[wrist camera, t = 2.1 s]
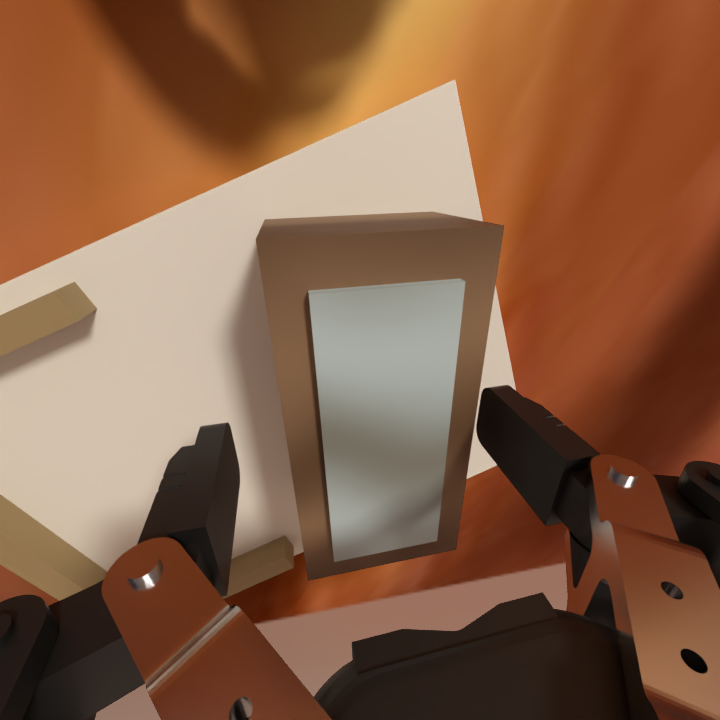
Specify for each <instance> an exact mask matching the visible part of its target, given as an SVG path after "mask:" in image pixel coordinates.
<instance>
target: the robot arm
mask: <svg viewBox="0 0 720 720" xmlns="http://www.w3.org/2000/svg"><path fill="white" fill-rule="evenodd" d="M476 432H477V437H478V440H479V442H480V444H481V445H482V446H483V448H484V449H485V450H486V451H487V453H488V454H489V455H490V457H491V458H492V459H493V460H494V462H495V463H496V464H497V465H498V467H499V468H500V469H501V470H502V472H503V473H504V474H505V475H506V477H507V478H508V479H509V480H510V482H511V483H512V484H513V485H514V487H515V488H516V489H517V490H518V492H519V493H520V494H521V496H522V497H523V498H524V499H525V501H526V502H527V503H528V504H529V506H530V507H531V508H532V509H533V511H534V512H535V513H536V514H537V516H538V517H539V518H540V519H541V521H542V522H543V523H544V524H545V526H549V525H553V524H558V523H562V522H563V523H564V524H565V526H566V527H567V530H566V533H565V555H566V574H567V592H568V600H567V609H566V611H563V610H558V609H553V607H552V606H551V604H550V603H549V601H548V600H547V598H546V597H545V595H544V594H543V593H539V594H535V595H531V596H527V597H524V598H520V599H516V600H512V601H509V602H504V603H501V604H498V605H497V606H495V607H494V608H492V609H491V610H490V611H488V612H487V613H485V614H484V615H482V616H481V617H479V618H478V619H476V620H475V621H473V622H472V623H471V624H469V625H468V626H466V627H465V628H463V629H461V630H458V631H436V630H413V629H412V630H411V629H401V630H397V631H393V632H390V633H386V634H382V635H378V636H374V637H370V638H367V639H362V640H359V641H355V642H352V656H353V660H352V661H351V662H349V663H348V664H346V665H345V666H343V667H342V668H341V669H339V670H338V671H337V672H336V673H335V674H334V675H332V676H331V677H330V678H329V679H328V681H327V682H326V683H325V684H324V685H323V686H322V687H321V688H320V690H319V691H318V692H317V693H316V695H315V696H314V697H313V696H312V695H311V694H310V692H309V691H308V690H307V689H306V687H305V686H304V685H303V684H302V683H301V681H300V680H299V679H298V678H297V676H296V675H295V674H294V673H293V672H292V670H291V669H290V668H289V667H288V665H287V664H286V663H285V662H284V661H283V659H282V658H281V657H280V656H279V654H278V653H277V652H276V651H275V650H274V648H273V647H272V646H271V645H270V643H269V642H268V641H267V640H266V638H265V637H264V636H263V635H262V633H261V632H260V631H259V630H258V629H257V627H256V626H255V625H254V624H253V622H252V621H251V620H250V619H249V618H248V616H247V615H246V614H245V613H244V612H243V611H242V610H241V609H240V608H239V607H238V606H236V605H234V606H232V607H230V606H229V605H228V604H227V603H226V601H225V600H224V599H223V598H222V597H223V596H227V593H228V585H229V576H230V567H231V558H232V549H233V541H234V532H235V523H236V514H237V506H238V497H239V488H240V469H239V462H238V458H237V453H236V449H235V444H234V440H233V436H232V431H231V427H230V424H229V423H228V422H227V423H220V424H212V425H205V426H201V427H200V428H199V431H198V435H197V438H196V441H195V445H191V446H184V447H181V448H180V449H179V450H178V451H177V452H176V454H175V455H174V456H173V457H172V458H171V459H170V460H169V462H168V464H167V467H166V469H165V472H164V475H163V479H162V480H161V483H160V485H159V488H158V492H157V493H156V496H155V498H154V501H153V504H152V506H151V509H150V511H149V514H148V517H147V519H146V522H145V525H144V527H143V530H142V532H141V535H140V538H139V540H138V543H137V545H135V546H134V547H132V548H130V549H129V550H128V551H126V552H125V553H124V554H122V555H121V556H120V557H119V558H118V559H117V560H116V561H115V562H114V563H113V565H112V566H111V567H110V569H109V570H108V572H107V574H106V575H105V578H104V579H103V580H102V581H100V582H98V583H96V584H95V585H93V586H91V587H88V588H86V589H84V590H82V591H80V592H78V593H75V594H73V595H71V596H69V597H67V598H65V599H62V600H60V601H58V602H56V603H54V604H52V605H49V606H47V604H46V603H45V602H44V600H43V599H42V598H40V597H38V596H35V595H21V596H16V597H13V598H10V599H7V600H5V601H2V602H0V720H95V716H96V713H97V712H98V711H100V710H102V709H103V708H105V707H107V706H108V705H110V704H112V703H113V702H115V701H117V700H118V699H120V698H122V697H123V696H125V695H126V694H128V693H130V692H132V691H133V690H135V689H136V688H138V687H140V686H141V685H143V684H146V689H147V691H148V693H149V696H150V698H151V700H152V702H153V704H154V706H155V708H156V710H157V712H158V714H159V716H160V718H161V720H720V465H719V464H715V463H711V462H705V461H693V462H689V463H687V465H686V466H685V468H684V470H683V472H682V473H681V475H680V477H676V476H664V475H652V474H651V473H650V472H649V471H648V470H647V469H646V468H644V467H643V466H641V465H640V464H638V463H636V462H634V461H632V460H630V459H627V458H624V457H621V456H617V455H610V454H602V455H601V454H600V453H598V452H597V451H596V450H595V449H594V448H592V447H591V446H590V445H589V444H588V443H586V442H585V441H584V440H583V439H581V438H580V437H579V436H578V435H577V434H575V433H574V432H573V431H572V430H571V429H569V428H568V427H567V426H564V425H563V423H562V422H561V421H560V420H559V419H557V418H556V417H553V415H552V414H551V413H550V412H549V411H548V410H546V409H545V408H544V407H543V406H542V405H540V404H538V403H536V402H534V401H532V400H529V399H527V398H524V397H523V396H521V395H520V394H519V393H518V392H517V391H516V390H514V389H513V388H512V387H511V386H509V385H502V386H495V387H488V388H484V389H483V391H482V394H481V399H480V406H479V412H478V418H477V424H476Z"/></svg>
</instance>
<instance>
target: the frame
mask: <svg viewBox="0 0 720 720" xmlns="http://www.w3.org/2000/svg"><path fill="white" fill-rule="evenodd" d="M503 230H504V226H503V225H498V224H493V223H488V222H483V221H478V220H473V219H468V218H463V217H458V216H453V215H448V214H443V213H438V212H433V211H432V212H410V213H389V214H367V215H346V216H324V217H303V218H282V219H265V220H264V222H263V224H262V226H261V228H260V231H259V233H258V235H257V237H256V245H257V252H258V258H259V265H260V271H261V278H262V284H263V291H264V297H265V304H266V310H267V317H268V323H269V330H270V336H271V343H272V349H273V356H274V362H275V369H276V375H277V382H278V388H279V395H280V401H281V408H282V414H283V421H284V427H285V434H286V440H287V447H288V453H289V460H290V466H291V473H292V479H293V485H294V492H295V498H296V505H297V511H298V518H299V524H300V531H301V537H302V544H303V550H304V557H305V563H306V570H307V576H308V580H313V579H318V578H323V577H327V576H332V575H337V574H342V573H346V572H351V571H356V570H360V569H365V568H370V567H375V566H379V565H384V564H389V563H394V562H398V561H403V560H408V559H413V558H417V557H422V556H427V555H431V554H436V553H441V552H446V551H450V550H455V549H456V546H457V539H458V532H459V525H460V519H461V512H462V505H463V499H464V492H465V485H466V478H467V472H468V465H469V458H470V452H471V445H472V438H473V432H474V425H475V418H476V411H477V405H478V398H479V391H480V385H481V378H482V371H483V364H484V358H485V351H486V344H487V338H488V331H489V324H490V318H491V311H492V304H493V297H494V291H495V284H496V277H497V271H498V264H499V257H500V250H501V244H502V237H503Z"/></svg>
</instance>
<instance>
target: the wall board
mask: <svg viewBox="0 0 720 720" xmlns="http://www.w3.org/2000/svg"><path fill="white" fill-rule="evenodd" d="M432 211H433V212H438V213H443V214H448V215H453V216H458V217H463V218H468V219H473V220H478V221H483V219H482V214H481V209H480V204H479V199H478V194H477V189H476V184H475V179H474V173H473V168H472V163H471V158H470V153H469V148H468V143H467V138H466V133H465V127H464V122H463V117H462V112H461V107H460V102H459V97H458V92H457V87H456V81H455V80H453V81H450V82H448V83H446V84H444V85H442V86H439V87H437V88H435V89H433V90H431V91H428V92H426V93H424V94H422V95H420V96H417V97H415V98H413V99H411V100H408V101H406V102H404V103H402V104H400V105H397V106H395V107H393V108H391V109H389V110H386V111H384V112H382V113H380V114H377V115H375V116H373V117H371V118H369V119H366V120H364V121H362V122H360V123H358V124H355V125H353V126H351V127H349V128H346V129H344V130H342V131H340V132H338V133H335V134H333V135H331V136H329V137H327V138H324V139H322V140H320V141H318V142H316V143H313V144H311V145H309V146H307V147H304V148H302V149H300V150H298V151H296V152H293V153H291V154H289V155H287V156H285V157H282V158H280V159H278V160H276V161H273V162H271V163H269V164H267V165H265V166H262V167H260V168H258V169H256V170H254V171H251V172H249V173H247V174H245V175H242V176H240V177H238V178H236V179H234V180H231V181H229V182H227V183H225V184H223V185H220V186H218V187H216V188H214V189H212V190H209V191H207V192H205V193H203V194H200V195H198V196H196V197H194V198H192V199H189V200H187V201H185V202H183V203H181V204H178V205H176V206H174V207H172V208H169V209H167V210H165V211H163V212H161V213H158V214H156V215H154V216H152V217H150V218H147V219H145V220H143V221H141V222H138V223H136V224H134V225H132V226H130V227H127V228H125V229H123V230H121V231H119V232H116V233H114V234H112V235H110V236H108V237H105V238H103V239H101V240H99V241H96V242H94V243H92V244H90V245H88V246H85V247H83V248H81V249H79V250H77V251H74V252H72V253H70V254H68V255H65V256H63V257H61V258H59V259H57V260H54V261H52V262H50V263H48V264H46V265H43V266H41V267H39V268H37V269H34V270H32V271H30V272H28V273H26V274H23V275H21V276H19V277H17V278H15V279H12V280H10V281H8V282H6V283H4V284H1V285H0V565H2V566H4V567H5V568H7V569H8V570H10V571H12V572H13V573H15V574H17V575H18V576H20V577H22V578H23V579H25V580H27V581H28V582H30V583H31V584H33V585H35V586H36V587H38V588H40V589H41V590H43V591H45V592H46V593H48V594H49V595H51V596H53V597H54V598H56V599H58V600H59V601H60V600H62V599H65V598H67V597H69V596H71V595H73V594H75V593H78V592H80V591H82V590H84V589H86V588H88V587H91V586H93V585H95V584H96V583H98V582H100V581H102V580H103V579H104V578H105V575H106V574H107V572H108V570H109V569H110V567H111V566H112V565H113V563H114V562H115V561H116V560H117V559H118V558H119V557H120V556H121V555H122V554H124V553H125V552H126V551H128V550H129V549H130V548H132V547H134V546H135V545H137V543H138V540H139V538H140V535H141V532H142V530H143V527H144V525H145V522H146V519H147V517H148V514H149V511H150V509H151V506H152V504H153V501H154V498H155V496H156V493H157V492H158V488H159V485H160V483H161V480H162V479H163V475H164V472H165V469H166V467H167V464H168V462H169V460H170V459H171V458H172V457H173V456H174V455H175V454H176V452H177V451H178V450H179V449H180V448H181V447H184V446H191V445H195V441H196V438H197V435H198V431H199V428H200V427H201V426H205V425H212V424H220V423H227V422H228V423H229V424H230V427H231V431H232V436H233V440H234V444H235V449H236V453H237V458H238V462H239V469H240V488H239V497H238V506H237V514H236V523H235V532H234V541H233V549H232V558H231V567H230V576H229V585H228V593H227V596H223V597H222V598H223V599H225V598H227V597H229V596H231V595H234V594H236V593H238V592H240V591H243V590H245V589H247V588H249V587H252V586H254V585H256V584H258V583H260V582H263V581H265V580H267V579H269V578H272V577H274V576H276V575H278V574H281V573H283V572H285V571H287V570H290V569H292V568H294V556H295V555H297V554H300V553H302V552H304V550H303V544H302V537H301V531H300V524H299V518H298V511H297V505H296V498H295V492H294V485H293V479H292V473H291V466H290V460H289V453H288V447H287V440H286V434H285V427H284V421H283V414H282V408H281V401H280V395H279V388H278V382H277V375H276V369H275V362H274V356H273V349H272V343H271V336H270V330H269V323H268V317H267V310H266V304H265V297H264V291H263V284H262V278H261V271H260V265H259V258H258V252H257V245H256V237H257V235H258V233H259V231H260V228H261V226H262V224H263V222H264V220H265V219H282V218H303V217H324V216H346V215H367V214H389V213H410V212H432ZM502 385H509V386H511V387H512V388H513V389H514V390H516V388H515V383H514V378H513V373H512V368H511V363H510V358H509V352H508V347H507V342H506V337H505V332H504V327H503V322H502V317H501V311H500V306H499V301H498V296H497V291H496V286H495V291H494V297H493V304H492V311H491V318H490V324H489V331H488V338H487V344H486V351H485V358H484V364H483V371H482V378H481V385H480V391H479V398H478V405H477V411H476V418H475V425H474V432H473V438H472V445H471V452H470V458H469V465H468V472H467V478H470V477H472V476H474V475H476V474H479V473H481V472H483V471H485V470H488V469H490V468H492V467H494V466H496V465H497V464H496V463H495V462H494V460H493V459H492V458H491V457H490V455H489V454H488V453H487V451H486V450H485V449H484V448H483V446H482V445H481V444H480V442H479V440H478V437H477V432H476V424H477V418H478V412H479V406H480V399H481V394H482V391H483V389H484V388H488V387H495V386H502ZM467 478H466V479H467Z"/></svg>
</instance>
